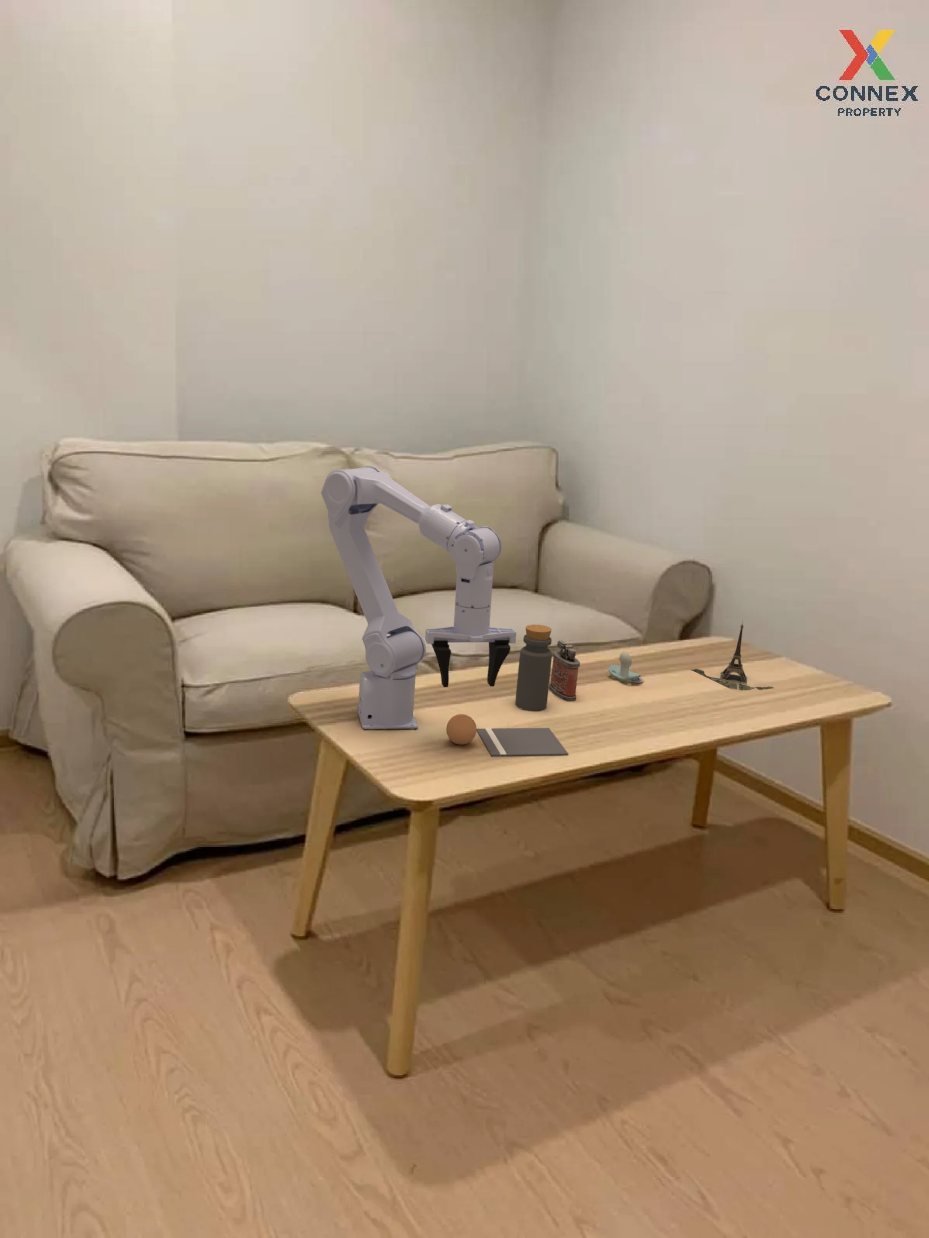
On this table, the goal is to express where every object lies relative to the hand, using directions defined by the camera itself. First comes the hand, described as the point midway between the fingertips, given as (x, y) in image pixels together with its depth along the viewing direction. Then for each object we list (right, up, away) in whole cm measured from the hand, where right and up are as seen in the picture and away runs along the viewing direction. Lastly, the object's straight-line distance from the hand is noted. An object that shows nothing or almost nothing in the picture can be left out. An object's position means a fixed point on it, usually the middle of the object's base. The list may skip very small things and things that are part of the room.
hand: (467, 684), depth 165 cm
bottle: (+12, -5, +23) cm, 26 cm away
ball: (-1, -10, +3) cm, 10 cm away
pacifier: (+32, -2, +42) cm, 53 cm away
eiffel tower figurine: (+55, -2, +48) cm, 73 cm away
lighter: (+18, -4, +30) cm, 36 cm away
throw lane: (+9, -10, +5) cm, 15 cm away
